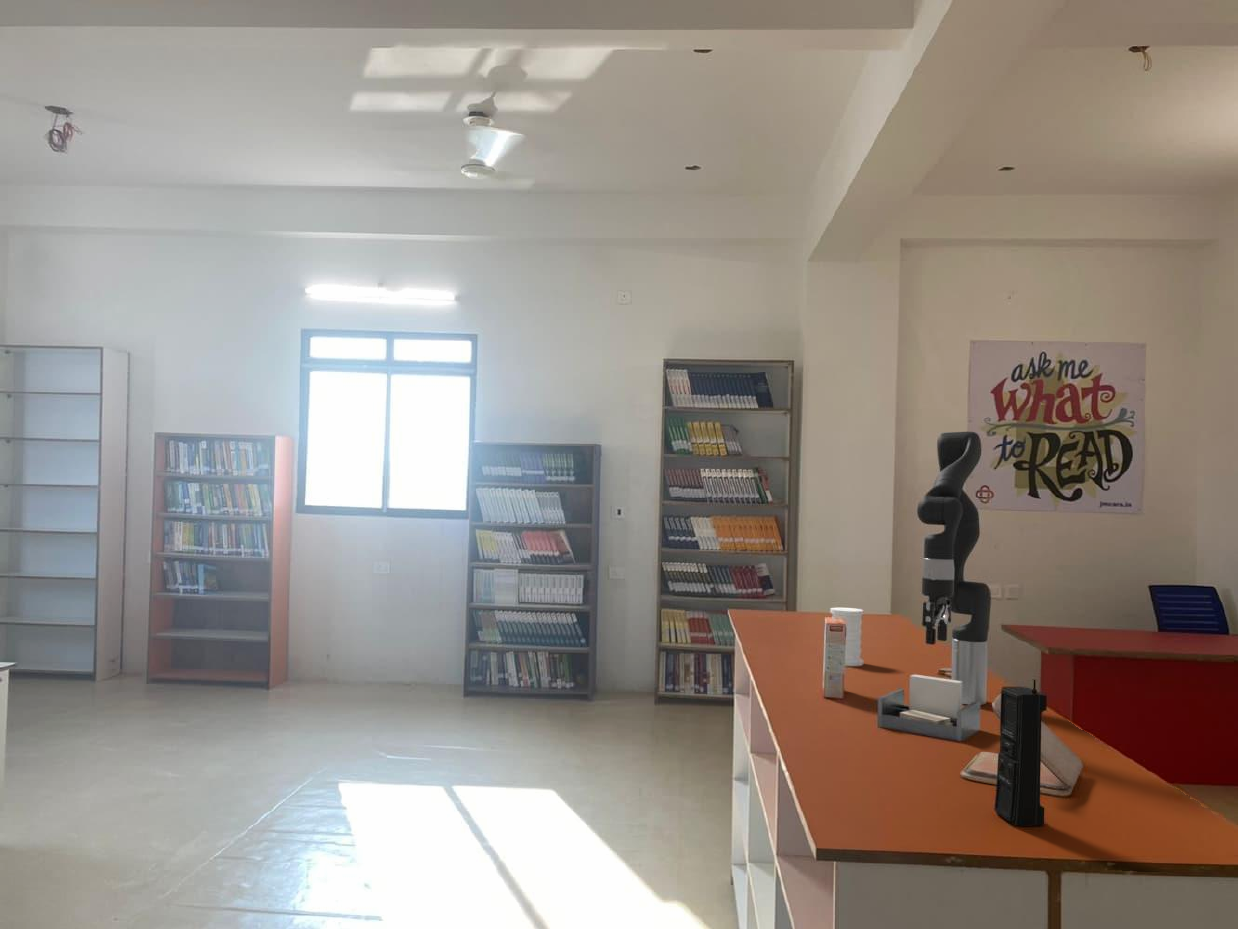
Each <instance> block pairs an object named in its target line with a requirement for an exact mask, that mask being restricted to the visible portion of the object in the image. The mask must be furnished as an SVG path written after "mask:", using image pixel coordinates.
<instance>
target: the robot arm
mask: <svg viewBox="0 0 1238 929" xmlns="http://www.w3.org/2000/svg"><path fill="white" fill-rule="evenodd" d="M936 446H937V447H936V448H937V449H936V450H937V458H938V459H937V460H938V467H939V473H938V474H937V476H936V478H935V480H934V482H933V486H932V487H931V488H930V489H929V490H928V491H927V492H926V493H924V494H923V496H922V497H921V498H920V500H919V502H918V503H917V504H918V505H917V508H916V515H917V517H918V519H919V521H920V522H922V523H923V524H925V525H930V526H931V525H934V526H943V528H944V529H943V531H941V532H940V533H939V532H938V533H934V534H929V535H926V536H925V538H924V541H923V542H924V544H923V547H924V548H923V563H922V574H921V575H922V577H921V579H922V580H921V581H922V582H921V593H922V595H923V596H924V597H925V596H926V597H928V601H923V602H922V627H924V628H925V644H926V645H932V646H934V645H936V642H937V640H938V641H942V642H946V641H947V640H948V627H949V624H950V623H952V613H954V614H958V615H959V614H961V615H968V616H970V617H971V618H970V621H969V622H968V623H966V624H964V625H961V626H955V627H953V629H952V633H951V638H952V639H951V670H950V671H951V676H950V680H957V681H962V705H969V704H971V703H973V702H974V701H976V700H977V701H981V706H984V705H985V704H987V683H988V682H987V680H988V679H987V674H988V635H989V630H990V618H991V605H992V594H991V590H990V587H989V586H988V584H986V583H983V582H978V581H976V582H975V581H969V580H968V581H967V580H966V581H965V579H964V576H965V575H964V572H965V570H964V569H965V564H966V562H967V560H968V558H969V556H970V555H971V553H972V551H973V550H974V548H975V546H976V545H977V542H978V541H979V538H980V535H981V534H980V530H981V529H980V527H981V526H980V515H979V511H978V508H977V507H976V505H975V503H974V502H973V501H972V499H971V498H970V497H969V495H968V494H967V492H966V491H965V490H964V489H963V488H964V485H965V483H966V481H967V480H968V479H969V477H970V476H971V474H972V473H973V471H974V470H975V468H976V467H977V465H978V463H979V462H980V460H981V456H982V441H981V438H980V435H979V434H978V433H977V432H975V431H955V432H953V431H951V432H942V433H940V434H939V435H938V438H937V443H936Z"/></svg>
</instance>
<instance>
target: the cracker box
mask: <svg viewBox="0 0 1238 929" xmlns="http://www.w3.org/2000/svg"><path fill="white" fill-rule="evenodd" d="M823 636H824V637H823V640H824V641H823V663H822V664H823V665H822V666H823V667H822V668H823V669H822V693H823V694H822V695H823V698H825V699H826V698H827V699H836V700H844V698H845V676H846V675H845V674H846V673H845V672H846V666H845V652H846V622H845V619H844V618H835V617H832V616H831V617H830V616H829V617H828V616H827V617H824V635H823Z"/></svg>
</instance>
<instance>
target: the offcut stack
mask: <svg viewBox="0 0 1238 929" xmlns="http://www.w3.org/2000/svg"><path fill="white" fill-rule="evenodd" d="M900 717H902V718H908V719H914V720H919V721H925V722H931V723H937V724H942V725H948V726H953V724H952V723H950V718H947V717H943V716H938V715H934V714H929V713H925V712H921V711H916V710H910V711H905V712H900Z"/></svg>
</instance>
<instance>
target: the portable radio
mask: <svg viewBox="0 0 1238 929" xmlns="http://www.w3.org/2000/svg"><path fill="white" fill-rule="evenodd" d="M1032 681H1033V687H1032V688H1031V687H1026V686H1006V685H1005V686H1004V685H1003V686H1002V687H1001V690H1000V694H1001V713H1000V719H999V720H1000V721H999V723H1000V724H999V733H1000V739H999V742H1000V743H999V753H997V754H998V768H997V785H995V787H996V788H995V798H994V799H995V800H994V801H995V802H994V807H993V808H994V809H993V810H994V811H995V813H996V815H998V816H1000V817H1001V818H1002V819H1004V820H1005V821H1007V822H1008V823H1009V824H1011V825H1012V826H1014V827H1039V826H1043V825H1045V807H1044V806H1042V805H1041V793H1040V769H1041V721H1042V714H1043V712H1045V711H1047V710H1048V709H1047V700H1048V697H1047V695H1046V694H1044V693H1042V692H1041V691H1040V692H1039V691H1037V690H1038V689H1036V683H1037V679H1032Z"/></svg>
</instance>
